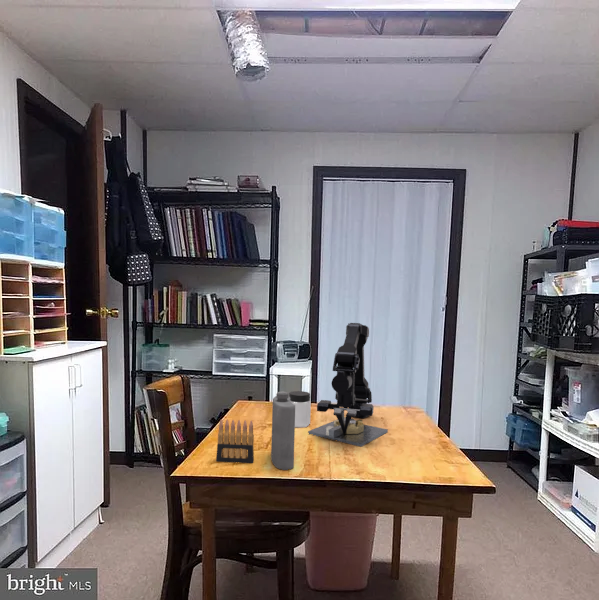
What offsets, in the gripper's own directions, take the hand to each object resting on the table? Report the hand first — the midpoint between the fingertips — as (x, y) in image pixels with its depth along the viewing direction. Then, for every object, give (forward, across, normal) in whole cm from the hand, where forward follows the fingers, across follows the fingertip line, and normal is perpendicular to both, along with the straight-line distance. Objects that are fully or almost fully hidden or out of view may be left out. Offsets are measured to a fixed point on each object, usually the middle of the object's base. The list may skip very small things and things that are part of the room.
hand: (344, 433), depth 146 cm
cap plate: (+2, 0, -9) cm, 9 cm away
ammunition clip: (+3, +27, +30) cm, 41 cm away
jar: (+3, +20, -13) cm, 24 cm away
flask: (+3, +15, +25) cm, 29 cm away
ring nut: (+1, +1, -6) cm, 6 cm away
